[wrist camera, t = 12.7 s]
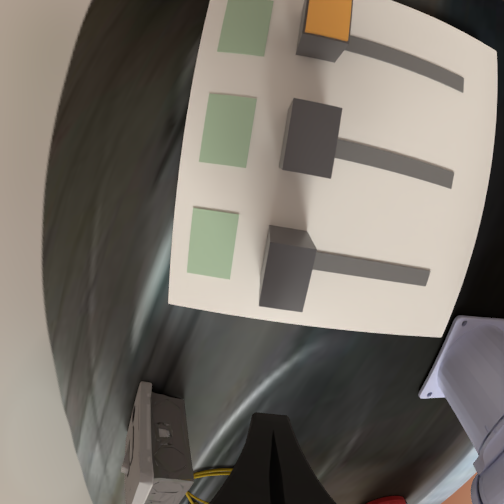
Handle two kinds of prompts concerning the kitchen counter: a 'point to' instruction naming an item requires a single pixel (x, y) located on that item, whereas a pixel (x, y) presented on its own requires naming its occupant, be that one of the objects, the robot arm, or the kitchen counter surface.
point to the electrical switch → (157, 450)
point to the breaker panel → (333, 169)
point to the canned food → (389, 500)
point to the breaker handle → (324, 29)
